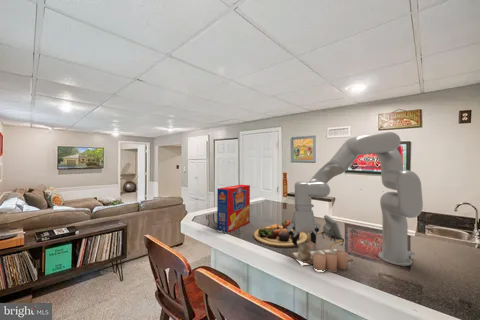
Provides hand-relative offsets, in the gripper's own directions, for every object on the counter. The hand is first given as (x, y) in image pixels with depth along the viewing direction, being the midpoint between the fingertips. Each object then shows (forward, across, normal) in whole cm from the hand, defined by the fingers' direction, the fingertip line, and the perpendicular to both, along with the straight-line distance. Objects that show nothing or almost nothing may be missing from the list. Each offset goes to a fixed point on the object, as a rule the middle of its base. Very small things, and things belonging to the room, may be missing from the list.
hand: (304, 243), depth 100 cm
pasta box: (+6, +24, -52) cm, 57 cm away
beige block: (+6, +1, +2) cm, 6 cm away
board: (+7, -8, +1) cm, 10 cm away
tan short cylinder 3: (+7, -12, +11) cm, 17 cm away
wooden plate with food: (+7, +1, -28) cm, 28 cm away
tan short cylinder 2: (+7, -6, +12) cm, 15 cm away
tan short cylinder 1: (+7, -1, +11) cm, 13 cm away
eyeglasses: (+8, -20, -13) cm, 26 cm away
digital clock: (+8, -33, -25) cm, 42 cm away
